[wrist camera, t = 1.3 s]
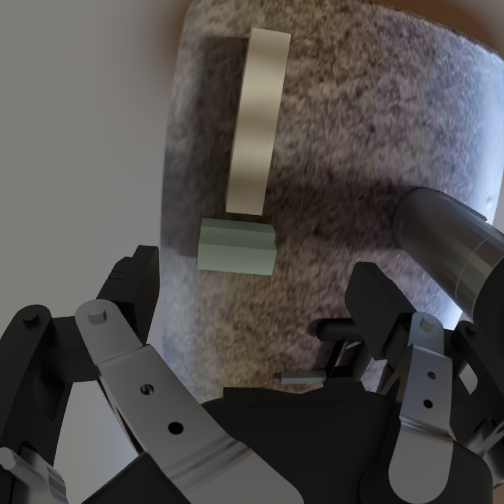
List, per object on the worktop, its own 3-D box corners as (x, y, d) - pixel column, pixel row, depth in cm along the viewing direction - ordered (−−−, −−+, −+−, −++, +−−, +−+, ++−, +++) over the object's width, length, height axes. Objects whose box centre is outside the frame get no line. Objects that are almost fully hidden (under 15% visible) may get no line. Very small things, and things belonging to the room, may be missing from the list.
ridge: (202, 217, 33) (199, 234, 29) (272, 224, 34) (278, 241, 30) (199, 256, 35) (196, 277, 31) (265, 262, 36) (270, 283, 32)
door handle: (275, 405, 48) (356, 400, 49) (297, 326, 39) (396, 326, 40) (274, 391, 51) (352, 388, 52) (294, 311, 42) (389, 312, 43)
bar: (248, 38, 24) (252, 27, 20) (281, 44, 24) (290, 34, 20) (225, 198, 32) (225, 211, 28) (257, 201, 33) (261, 215, 29)
